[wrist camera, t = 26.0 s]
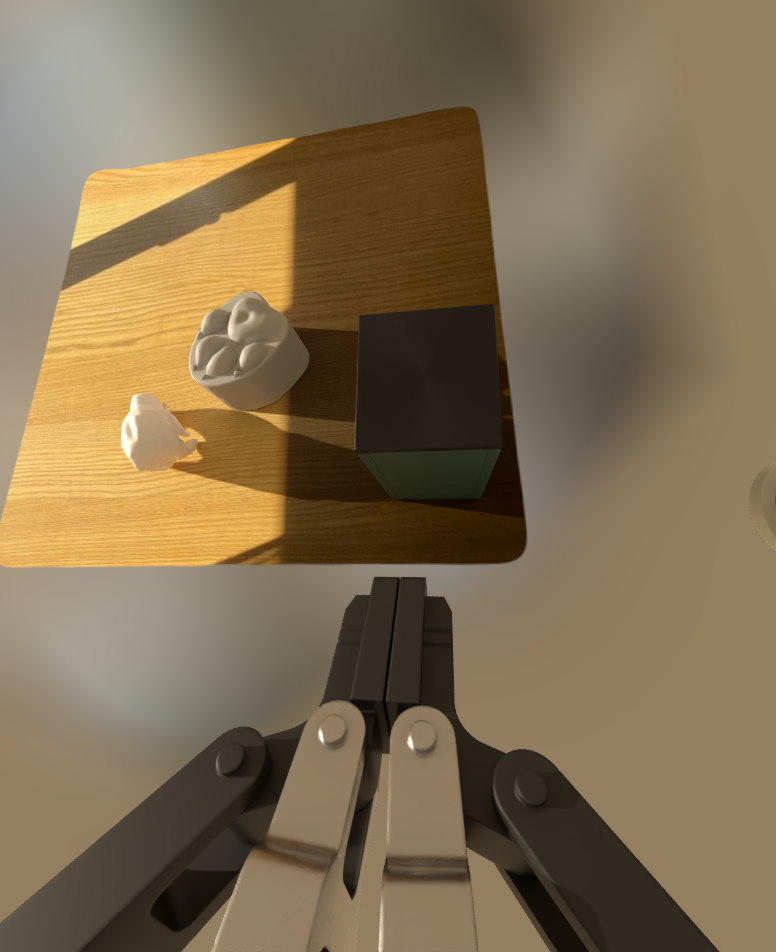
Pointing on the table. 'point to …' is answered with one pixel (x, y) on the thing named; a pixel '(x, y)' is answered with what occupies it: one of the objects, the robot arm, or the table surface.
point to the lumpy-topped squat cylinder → (247, 353)
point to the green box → (432, 473)
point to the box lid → (428, 381)
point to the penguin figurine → (153, 435)
